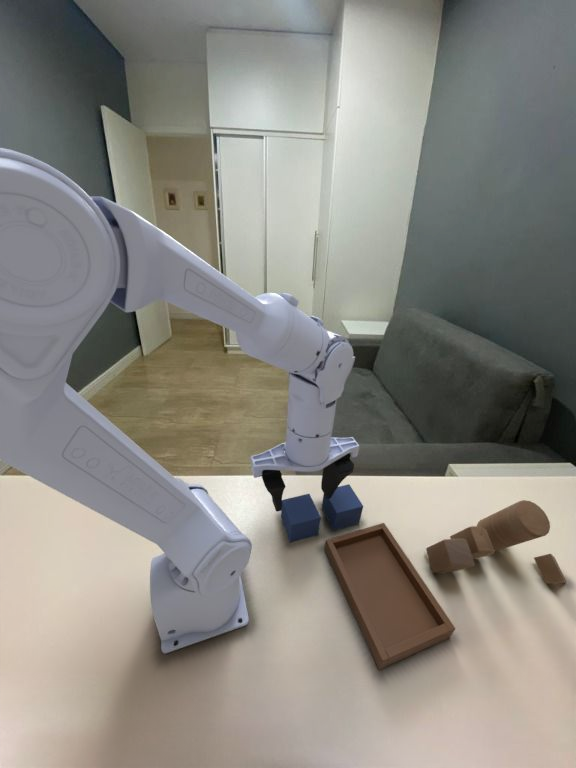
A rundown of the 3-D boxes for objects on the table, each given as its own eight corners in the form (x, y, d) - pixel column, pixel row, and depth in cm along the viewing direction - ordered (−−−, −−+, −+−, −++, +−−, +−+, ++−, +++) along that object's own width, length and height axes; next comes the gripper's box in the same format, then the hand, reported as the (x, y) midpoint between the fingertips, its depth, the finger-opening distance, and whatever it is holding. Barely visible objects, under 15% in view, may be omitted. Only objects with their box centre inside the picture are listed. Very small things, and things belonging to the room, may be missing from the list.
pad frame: (378, 669, 33) (382, 661, 32) (324, 548, 44) (325, 539, 43) (450, 637, 36) (455, 628, 35) (381, 531, 47) (383, 522, 46)
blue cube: (289, 543, 45) (291, 525, 43) (280, 517, 48) (281, 499, 46) (318, 535, 46) (321, 517, 44) (307, 510, 50) (309, 493, 48)
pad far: (333, 530, 47) (336, 513, 45) (321, 507, 51) (324, 489, 49) (359, 523, 48) (363, 506, 46) (345, 500, 52) (349, 483, 50)
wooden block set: (431, 589, 42) (468, 582, 34) (413, 522, 48) (441, 502, 39) (557, 583, 43) (622, 575, 35) (525, 518, 48) (576, 497, 40)
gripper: (346, 398, 43) (335, 469, 50) (244, 413, 39) (246, 489, 46) (374, 428, 37) (356, 504, 44) (258, 449, 33) (258, 530, 40)
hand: (302, 499), depth 44 cm, fingers open, 7 cm apart
